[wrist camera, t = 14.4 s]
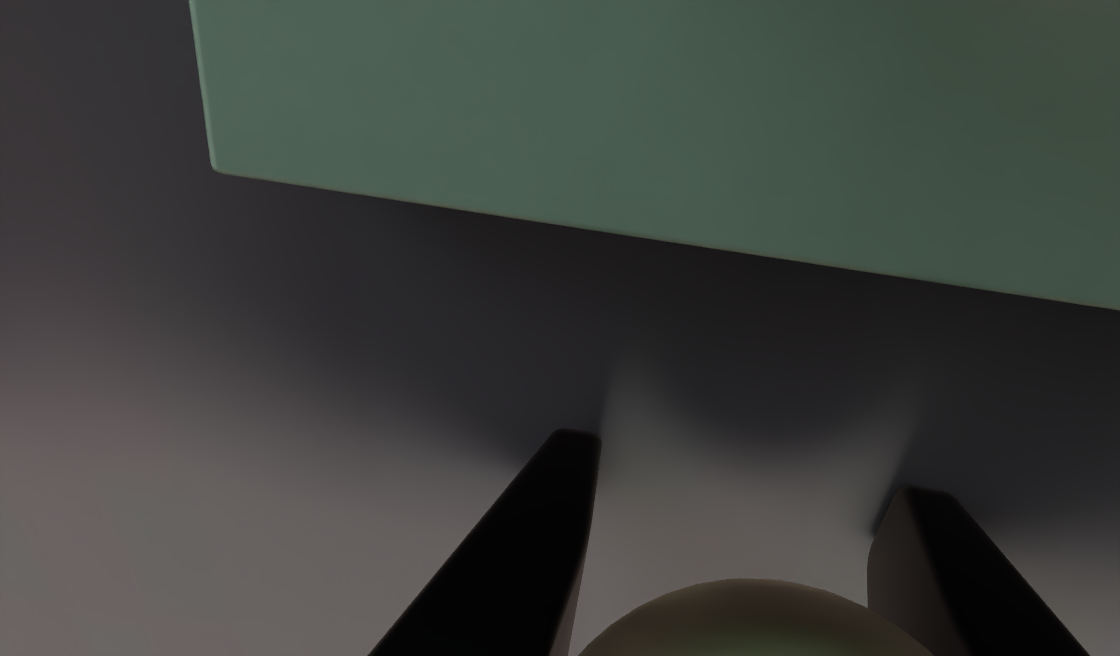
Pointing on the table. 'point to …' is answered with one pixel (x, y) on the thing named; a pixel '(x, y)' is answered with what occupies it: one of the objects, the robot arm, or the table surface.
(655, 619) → the toaster lever
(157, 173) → the table surface
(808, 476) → the table surface
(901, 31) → the lever bracket
